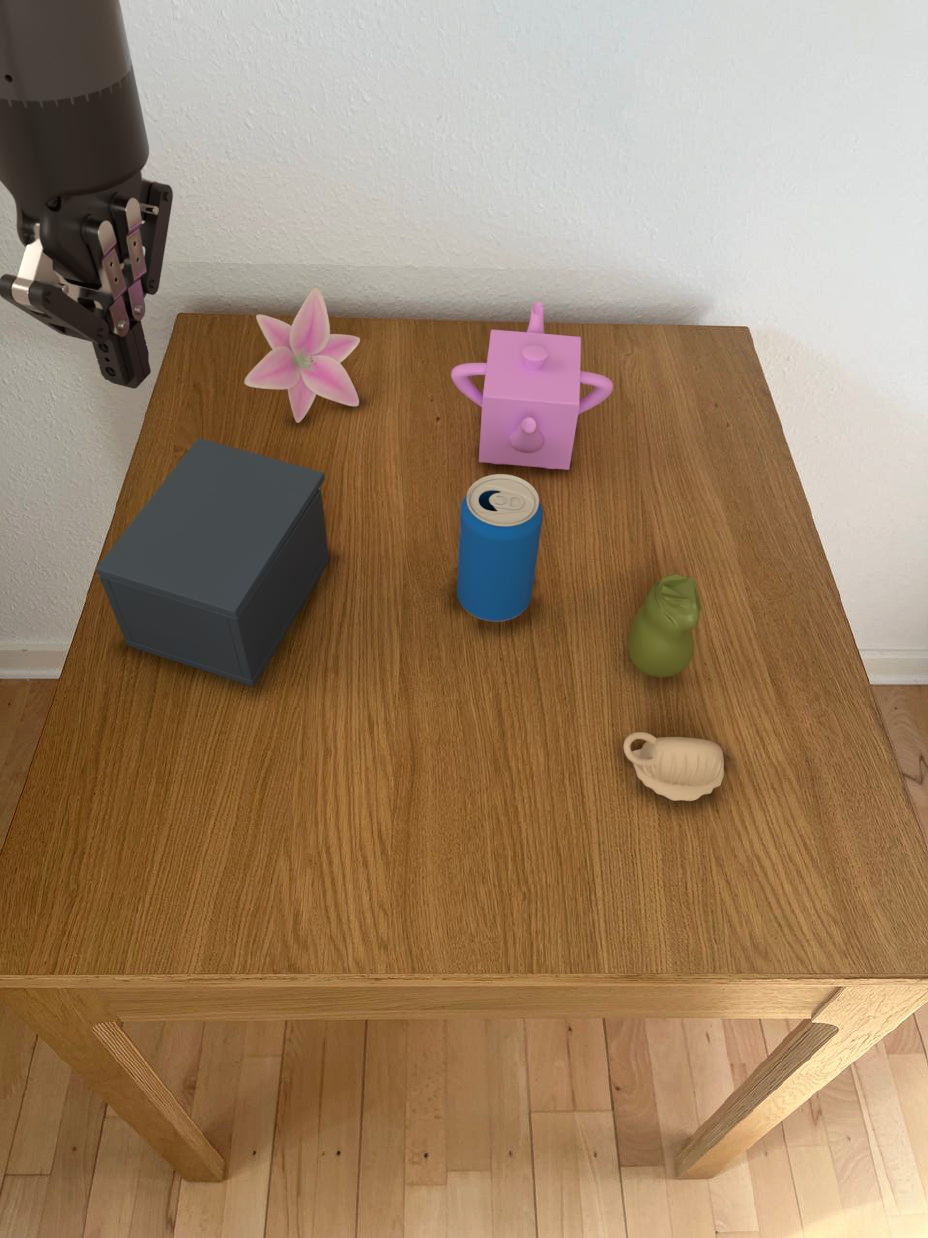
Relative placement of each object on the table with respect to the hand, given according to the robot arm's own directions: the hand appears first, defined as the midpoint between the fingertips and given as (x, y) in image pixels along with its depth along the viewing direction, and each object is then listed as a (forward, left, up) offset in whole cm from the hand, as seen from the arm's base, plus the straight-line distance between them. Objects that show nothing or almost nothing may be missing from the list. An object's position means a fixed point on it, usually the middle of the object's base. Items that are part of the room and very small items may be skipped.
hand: (129, 378), depth 56 cm
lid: (+3, +6, -19) cm, 20 cm away
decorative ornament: (+32, -20, -28) cm, 47 cm away
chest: (+2, +5, -28) cm, 28 cm away
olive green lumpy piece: (+35, -10, -28) cm, 46 cm away
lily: (+13, +31, -28) cm, 44 cm away
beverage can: (+24, 0, -28) cm, 37 cm away
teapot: (+33, +19, -28) cm, 47 cm away
